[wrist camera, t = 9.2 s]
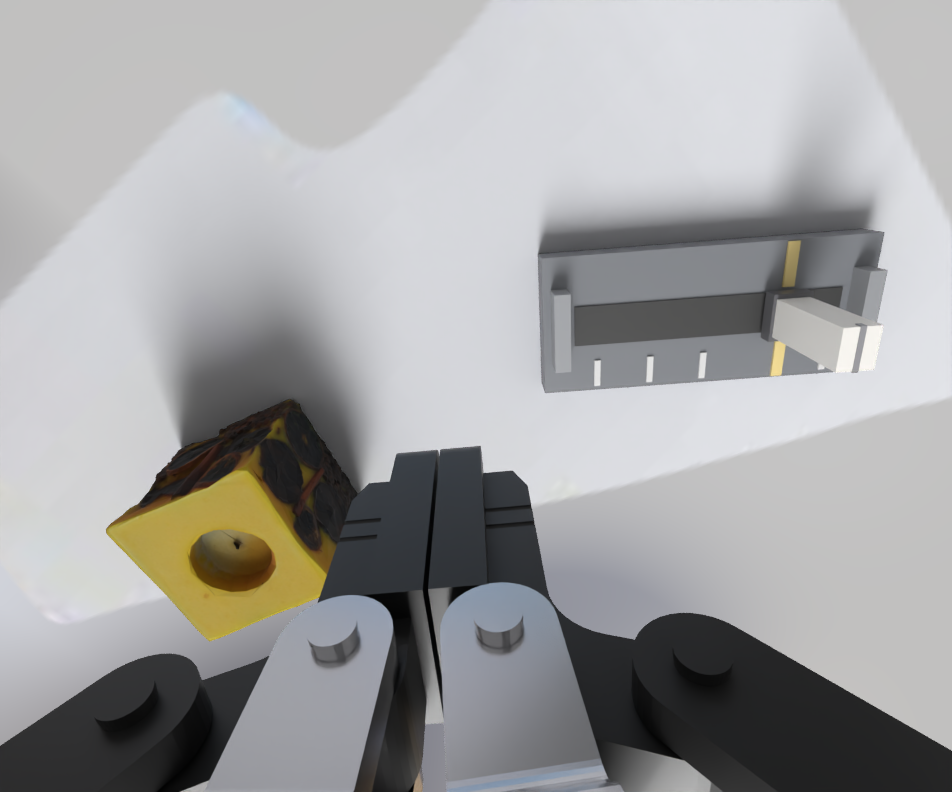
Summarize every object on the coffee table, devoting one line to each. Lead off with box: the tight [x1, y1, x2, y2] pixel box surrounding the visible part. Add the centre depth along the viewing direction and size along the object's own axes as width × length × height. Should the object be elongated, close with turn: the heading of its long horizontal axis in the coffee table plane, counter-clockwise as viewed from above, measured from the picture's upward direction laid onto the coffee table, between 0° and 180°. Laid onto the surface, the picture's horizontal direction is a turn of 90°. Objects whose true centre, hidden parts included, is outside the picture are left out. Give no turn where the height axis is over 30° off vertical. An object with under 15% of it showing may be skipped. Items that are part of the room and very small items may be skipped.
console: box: [538, 229, 888, 393], centre depth 36 cm, size 9×21×4 cm, turn 94°
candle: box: [106, 399, 357, 641], centre depth 38 cm, size 10×10×10 cm
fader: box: [761, 289, 884, 373], centre depth 32 cm, size 3×2×8 cm
